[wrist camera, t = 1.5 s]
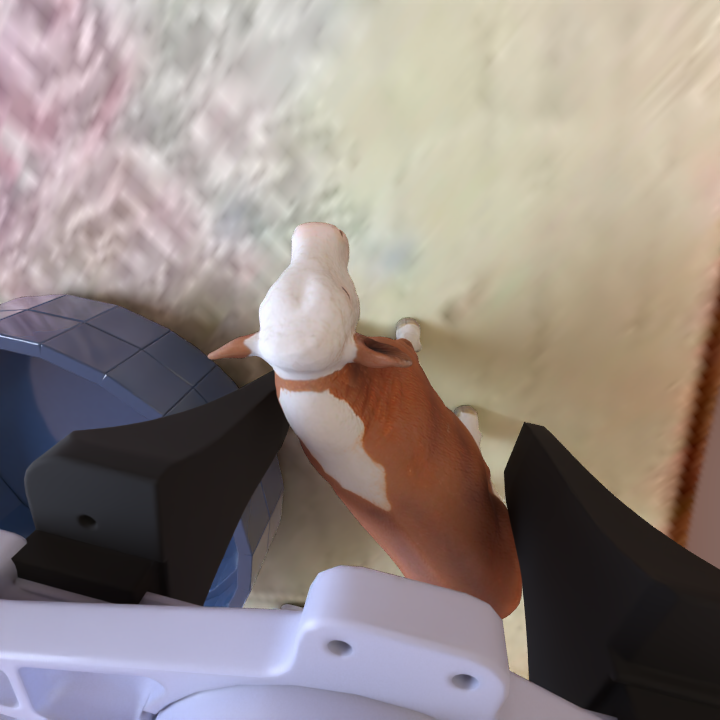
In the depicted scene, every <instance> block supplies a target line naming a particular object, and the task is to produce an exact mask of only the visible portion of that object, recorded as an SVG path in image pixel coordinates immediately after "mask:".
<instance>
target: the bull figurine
mask: <svg viewBox="0 0 720 720" xmlns="http://www.w3.org/2000/svg"><path fill="white" fill-rule="evenodd" d="M291 242H292V255H291V264H290V265H289V266H288V267H287V268H286V270H285V271H284V272H283V273H282V275H281V276H280V277H279V279H278V280H277V281H276V282H275V283H274V284H273V286H272V287H271V288H270V289H269V291H268V293H267V295H266V297H265V299H264V300H263V302H262V303H261V305H260V309H259V320H260V331H259V332H256V333H253V334H250V335H246V336H242V337H238V338H236V339H234V340H232V341H230V342H228V343H227V344H225V345H224V346H222V347H221V348H219V349H217V350H215V351H213V352H211V353H210V354H209V355H208V358H209V359H213V360H216V359H222V358H240V359H242V358H245V357H249V356H259V357H261V358H263V359H264V360H265V361H266V362H267V363H269V364H270V365H271V366H272V367H273V369H274V371H275V385H276V392H277V398H278V401H279V403H280V406H281V408H282V410H283V412H284V414H285V417H286V419H287V421H288V422H289V424H290V426H291V428H292V429H293V431H294V432H295V433H296V434H297V436H298V438H299V441H300V444H301V446H302V448H303V451H304V453H305V454H306V456H307V458H308V459H309V461H310V463H311V464H312V465H313V466H314V468H315V469H316V470H317V471H318V473H319V474H320V475H321V476H322V477H323V478H324V479H325V480H326V481H327V482H328V483H329V484H330V485H331V486H332V488H333V489H334V491H335V493H336V494H337V495H338V497H339V498H340V499H341V500H342V502H343V503H344V504H345V505H346V507H347V508H348V509H349V510H350V512H351V513H352V514H353V515H354V517H355V518H356V519H357V520H358V522H359V523H360V524H361V525H362V526H363V527H364V528H365V529H366V531H367V532H368V533H369V534H370V535H371V536H372V537H373V538H374V539H375V541H376V542H377V543H378V544H379V545H380V546H381V547H382V548H383V549H384V550H385V552H386V553H387V554H388V555H389V556H390V558H391V559H392V560H393V561H394V562H395V564H396V565H397V566H398V567H399V569H400V570H401V572H402V573H403V575H404V576H405V577H406V578H409V579H413V580H417V581H420V582H424V583H428V584H432V585H436V586H440V587H444V588H448V589H452V590H456V591H460V592H464V593H467V594H469V595H471V596H473V597H476V598H478V599H480V600H482V601H484V602H486V603H488V604H490V605H491V607H492V608H493V609H494V610H495V612H496V613H497V614H498V615H499V616H500V618H501V619H503V618H505V617H507V616H508V615H510V614H511V613H512V612H513V611H514V610H515V609H516V608H517V606H518V605H519V603H520V600H521V596H522V578H521V572H520V566H519V561H518V556H517V551H516V547H515V542H514V537H513V533H512V528H511V524H510V519H509V514H508V510H507V508H506V506H505V505H504V503H503V502H502V499H501V497H500V495H499V494H498V492H497V491H496V489H495V488H494V486H493V484H492V481H491V478H490V470H489V467H488V466H487V464H486V463H485V461H484V459H483V457H482V454H481V451H480V441H481V439H482V433H481V432H480V431H479V422H478V413H477V412H476V410H475V409H473V408H472V407H470V406H467V405H465V406H460V407H458V408H456V409H455V411H454V412H452V411H451V410H450V409H448V408H447V407H446V406H445V405H444V403H443V401H442V400H441V399H440V397H439V396H438V394H437V393H436V391H435V390H434V389H433V387H432V386H431V384H430V382H429V380H428V378H427V377H426V375H425V373H424V371H423V369H422V367H421V366H420V364H419V361H418V356H417V354H416V352H418V351H420V350H421V348H422V345H421V343H420V325H419V323H418V322H417V321H416V320H415V319H413V318H403V319H401V320H399V322H398V323H397V326H396V340H393V339H390V338H386V337H380V336H379V337H367V336H364V335H361V334H359V333H357V332H356V326H357V323H358V321H359V317H360V304H359V298H358V295H357V293H356V289H355V286H354V283H353V281H352V279H351V277H350V275H349V273H348V269H347V265H348V261H349V244H348V239H347V237H346V235H345V234H344V232H343V231H341V230H339V229H338V228H337V227H336V226H334V225H331V224H327V223H320V222H309V223H304V224H301V225H299V226H297V228H296V229H295V231H294V233H293V235H292V241H291Z"/></svg>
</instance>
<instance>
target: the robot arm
mask: <svg viewBox="0 0 720 720" xmlns="http://www.w3.org/2000/svg"><path fill="white" fill-rule="evenodd" d="M289 426H290V424H289V422H288V421H287V419H286V417H285V414H284V412H283V410H282V408H281V406H280V403H279V401H278V398H277V392H276V385H275V371H274V370H273V371H271V372H269V373H267V374H266V375H264V376H262V377H260V378H258V379H257V380H255V381H253V382H251V383H249V384H247V385H245V386H243V387H242V388H240V389H238V390H236V391H233V392H231V393H229V394H227V395H225V396H223V397H220V398H218V399H216V400H214V401H211V402H209V403H206V404H204V405H201V406H198V407H195V408H193V409H190V410H187V411H184V412H180V413H176V414H173V415H169V416H165V417H161V418H158V419H154V420H149V421H144V422H139V423H134V424H128V425H122V426H115V427H106V428H97V429H87V430H76V431H73V432H71V433H70V434H69V435H67V436H66V437H65V438H63V439H62V440H61V441H59V442H58V443H57V444H56V445H54V446H53V447H52V448H50V449H49V450H48V451H46V452H45V453H44V454H43V455H41V456H40V457H39V458H37V459H36V460H35V461H33V462H32V464H31V465H30V466H29V467H28V468H27V469H26V473H25V477H24V486H25V493H26V497H27V500H28V504H29V507H30V511H31V514H32V518H33V522H34V525H35V529H36V530H35V531H34V532H33V533H32V534H31V535H30V536H28V537H27V538H26V539H25V538H23V537H22V536H20V535H18V534H16V533H12V532H9V531H5V530H1V529H0V720H720V569H718V568H716V567H715V566H713V565H711V564H710V563H708V562H706V561H705V560H703V559H701V558H699V557H698V556H696V555H694V554H693V553H691V552H690V551H688V550H687V549H685V548H684V547H682V546H681V545H679V544H677V543H676V542H675V541H673V540H672V539H670V538H669V537H667V536H666V535H664V534H663V533H662V532H660V531H659V530H657V529H656V528H654V527H653V526H652V525H650V524H649V523H648V522H646V521H645V520H644V519H642V518H641V517H640V516H638V515H637V514H636V513H635V512H633V511H632V510H631V509H630V508H628V507H627V506H626V505H625V504H624V503H622V502H621V501H620V500H619V499H618V498H616V497H615V496H614V495H613V494H612V493H611V492H610V491H609V490H607V489H606V488H605V487H604V486H603V485H602V484H601V483H600V482H599V481H598V480H597V479H596V478H595V477H594V476H593V475H591V474H590V473H589V472H588V471H587V470H586V469H585V468H584V467H583V466H582V465H581V464H580V463H579V461H578V460H577V459H576V458H575V457H574V456H573V455H572V454H571V453H570V452H569V451H568V450H567V449H566V448H565V447H564V446H563V445H562V444H561V443H560V442H559V441H558V440H557V439H556V438H555V436H554V435H553V434H552V433H551V432H549V431H548V430H547V429H546V428H545V427H544V426H540V425H535V424H531V423H526V422H524V424H523V426H522V429H521V431H520V434H519V436H518V438H517V441H516V443H515V446H514V448H513V451H512V453H511V456H510V458H509V461H508V463H507V465H506V468H505V470H504V482H505V497H506V504H507V509H508V514H509V519H510V524H511V528H512V533H513V537H514V542H515V547H516V551H517V556H518V561H519V566H520V572H521V578H522V587H523V597H524V607H525V619H526V633H527V647H528V667H529V680H527V679H525V678H523V677H521V676H519V675H517V674H515V673H513V672H511V671H510V670H509V665H508V658H507V650H506V643H505V635H504V628H503V621H502V619H501V618H500V616H499V615H498V614H497V613H496V612H495V610H494V609H493V608H492V607H491V605H490V604H488V603H486V602H484V601H482V600H480V599H478V598H476V597H473V596H471V595H469V594H467V593H464V592H460V591H456V590H452V589H448V588H444V587H440V586H436V585H432V584H428V583H424V582H420V581H417V580H413V579H409V578H405V577H401V576H397V575H393V574H389V573H385V572H381V571H377V570H373V569H369V568H365V567H360V566H346V565H339V566H336V567H333V568H331V569H328V570H325V571H323V572H320V573H318V575H317V576H316V578H315V580H314V581H313V583H312V584H311V586H310V589H309V592H308V596H307V599H306V602H305V606H304V608H302V607H298V606H294V605H290V604H284V605H282V606H281V609H258V608H229V607H203V605H204V603H205V600H206V598H207V595H208V593H209V590H210V588H211V585H212V583H213V581H214V578H215V576H216V573H217V571H218V569H219V566H220V564H221V561H222V559H223V557H224V555H225V552H226V550H227V548H228V545H229V543H230V541H231V538H232V536H233V534H234V532H235V529H236V527H237V525H238V523H239V521H240V518H241V516H242V514H243V512H244V510H245V508H246V506H247V504H248V502H249V500H250V499H251V497H252V495H253V493H254V492H255V490H256V488H257V487H258V485H259V483H260V482H261V480H262V478H263V477H264V475H265V473H266V472H267V470H268V468H269V467H270V465H271V463H272V461H273V460H274V458H275V456H276V455H277V453H278V451H279V449H280V448H281V446H282V443H283V441H284V439H285V436H286V434H287V431H288V429H289Z"/></svg>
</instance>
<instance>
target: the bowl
mask: <svg viewBox="0 0 720 720" xmlns="http://www.w3.org/2000/svg"><path fill="white" fill-rule="evenodd" d="M238 389H239V388H238V386H237V385H236V384H235V383H234V382H233V381H232V379H231V378H230V377H229V376H228V375H227V374H226V373H225V372H224V371H223V370H222V369H221V368H220V367H219V366H218V365H217V364H216V363H215V362H213V361H212V360H211V359H209V358H208V357H207V356H206V355H205V354H204V353H203V352H201V351H200V350H199V349H198V348H197V347H195V346H194V345H192V344H191V343H189V342H188V341H186V340H185V339H183V338H182V337H180V336H179V335H177V334H176V333H174V332H173V331H171V330H170V329H168V328H166V327H164V326H162V325H160V324H157V323H155V322H154V321H151V320H149V319H147V318H145V317H143V316H140V315H138V314H136V313H134V312H132V311H130V310H128V309H126V308H124V307H121V306H118V305H114V304H109V303H104V302H100V301H95V300H91V299H86V298H81V297H77V296H72V295H67V294H61V295H45V296H29V297H20V298H17V299H14V300H11V301H8V302H5V303H2V304H0V529H1V530H5V531H9V532H12V533H16V534H18V535H20V536H22V537H23V538H25V539H26V538H27V537H28V536H30V535H31V534H32V533H33V532H34V531H35V530H36V529H35V525H34V522H33V518H32V514H31V511H30V507H29V504H28V500H27V497H26V493H25V486H24V477H25V473H26V469H27V468H28V467H29V466H30V465H31V464H32V462H33V461H35V460H36V459H37V458H39V457H40V456H41V455H43V454H44V453H45V452H46V451H48V450H49V449H50V448H52V447H53V446H54V445H56V444H57V443H58V442H59V441H61V440H62V439H63V438H65V437H66V436H67V435H69V434H70V433H71V432H73V431H76V430H87V429H97V428H106V427H115V426H122V425H128V424H134V423H139V422H144V421H149V420H154V419H158V418H161V417H165V416H169V415H173V414H176V413H180V412H184V411H187V410H190V409H193V408H195V407H198V406H201V405H204V404H206V403H209V402H211V401H214V400H216V399H218V398H220V397H223V396H225V395H227V394H229V393H231V392H233V391H236V390H238ZM283 493H284V484H283V480H282V475H281V471H280V466H279V462H278V458H277V455H276V456H275V458H274V460H273V461H272V463H271V465H270V467H269V468H268V470H267V472H266V473H265V475H264V477H263V478H262V480H261V482H260V483H259V485H258V487H257V488H256V490H255V492H254V493H253V495H252V497H251V499H250V500H249V502H248V504H247V506H246V508H245V510H244V512H243V514H242V516H241V518H240V521H239V523H238V525H237V527H236V529H235V532H234V534H233V536H232V538H231V541H230V543H229V545H228V548H227V550H226V552H225V555H224V557H223V559H222V561H221V564H220V566H219V569H218V571H217V573H216V576H215V578H214V581H213V583H212V585H211V588H210V590H209V593H208V595H207V598H206V600H205V603H204V605H203V607H229V608H243V606H244V604H245V602H246V600H247V598H248V596H249V594H250V592H251V590H252V588H253V585H254V583H255V581H256V578H257V576H258V574H259V571H260V569H261V567H262V564H263V562H264V560H265V557H266V555H267V553H268V550H269V548H270V545H271V543H272V541H273V538H274V536H275V534H276V531H277V529H278V527H279V524H280V521H281V513H282V503H283Z"/></svg>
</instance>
